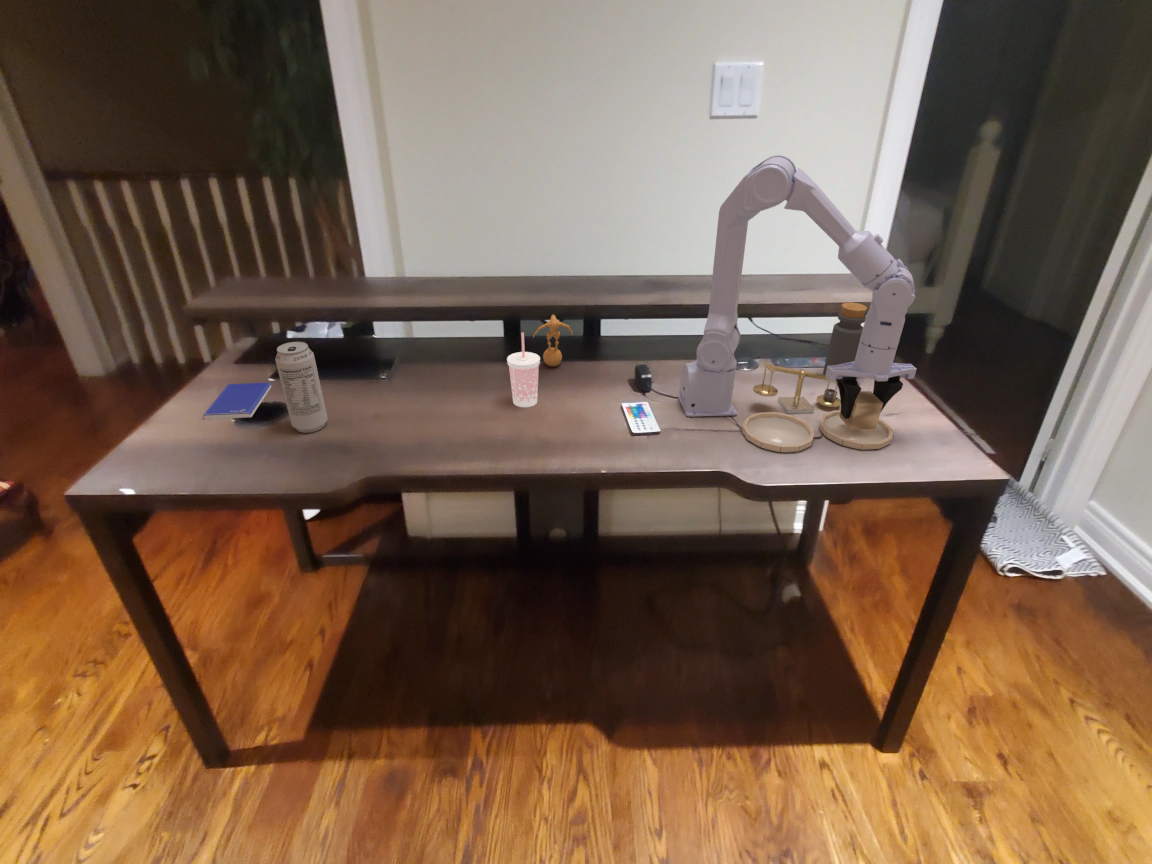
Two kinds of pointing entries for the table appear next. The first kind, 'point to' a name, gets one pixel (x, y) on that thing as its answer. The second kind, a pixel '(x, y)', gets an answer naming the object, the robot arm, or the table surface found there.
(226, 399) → the hard drive
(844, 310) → the bottle
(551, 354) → the figurine
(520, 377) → the beverage cup
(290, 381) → the energy drink can
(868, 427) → the maple block
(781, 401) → the balance scale
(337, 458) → the table surface
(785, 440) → the left dish
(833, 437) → the right dish
